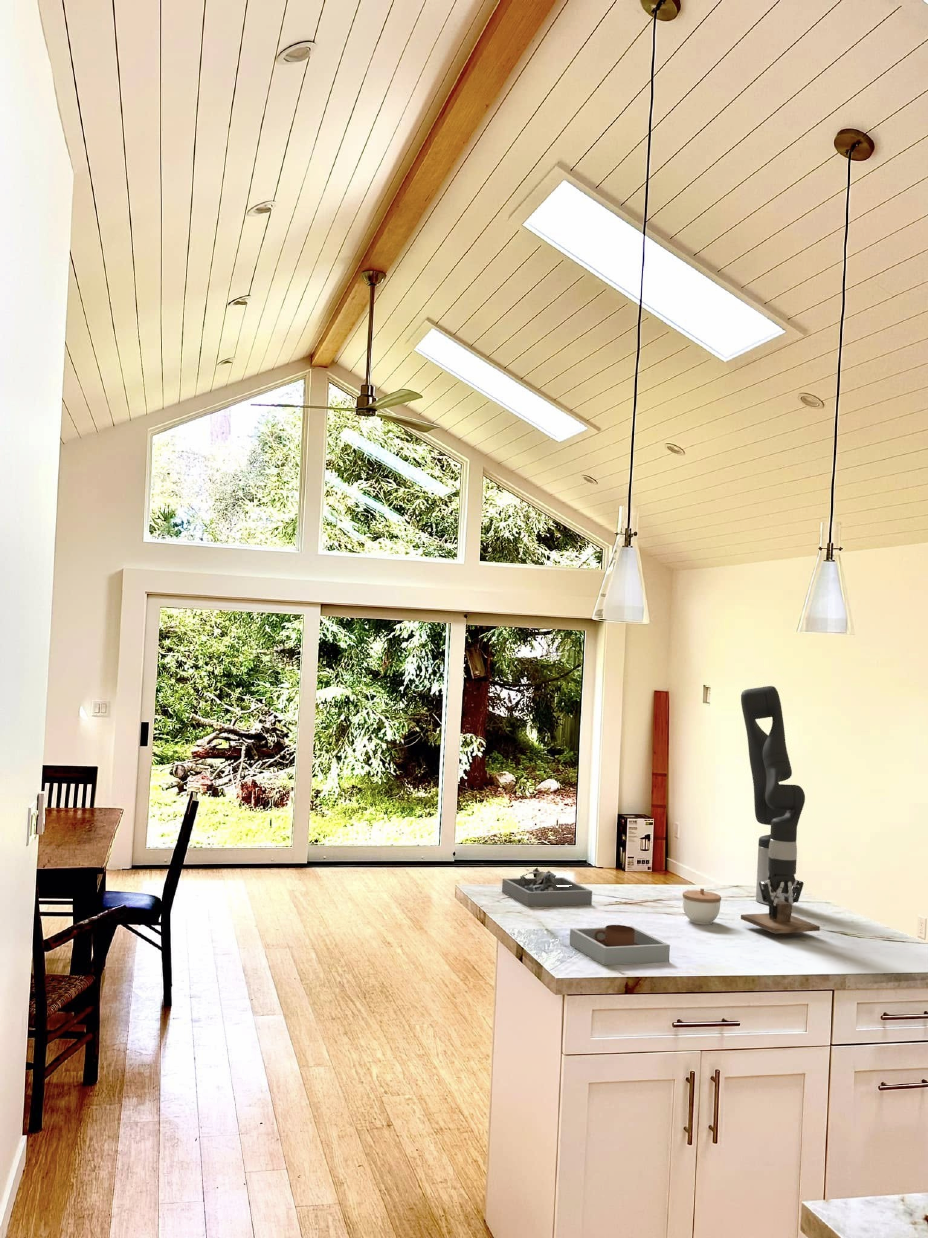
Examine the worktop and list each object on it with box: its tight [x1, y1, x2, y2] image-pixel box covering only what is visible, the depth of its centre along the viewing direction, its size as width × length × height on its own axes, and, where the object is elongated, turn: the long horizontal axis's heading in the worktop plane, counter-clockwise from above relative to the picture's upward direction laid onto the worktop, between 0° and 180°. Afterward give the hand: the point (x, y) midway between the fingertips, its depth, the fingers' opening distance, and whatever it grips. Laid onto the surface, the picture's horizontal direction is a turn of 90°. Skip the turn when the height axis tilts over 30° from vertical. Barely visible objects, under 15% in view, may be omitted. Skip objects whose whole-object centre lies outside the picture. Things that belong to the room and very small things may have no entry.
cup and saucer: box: [594, 924, 640, 947], centre depth 260 cm, size 12×12×6 cm
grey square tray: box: [569, 925, 671, 966], centre depth 259 cm, size 18×18×4 cm
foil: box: [519, 867, 557, 892], centre depth 317 cm, size 12×11×15 cm
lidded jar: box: [682, 887, 722, 926], centre depth 297 cm, size 11×11×9 cm
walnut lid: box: [740, 900, 821, 934], centre depth 290 cm, size 15×15×6 cm
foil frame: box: [501, 876, 593, 907], centre depth 316 cm, size 21×19×4 cm
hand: (779, 917), depth 290 cm, fingers closed on walnut lid, 4 cm apart
